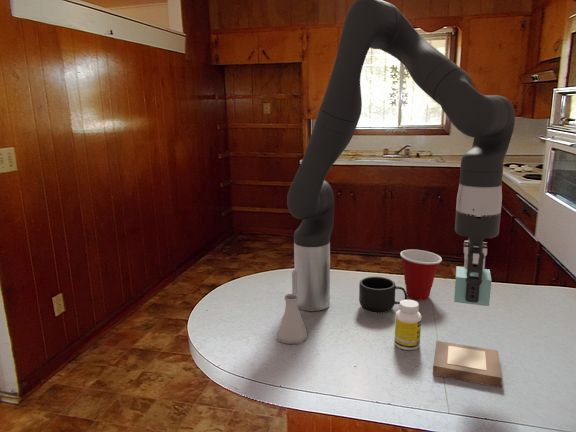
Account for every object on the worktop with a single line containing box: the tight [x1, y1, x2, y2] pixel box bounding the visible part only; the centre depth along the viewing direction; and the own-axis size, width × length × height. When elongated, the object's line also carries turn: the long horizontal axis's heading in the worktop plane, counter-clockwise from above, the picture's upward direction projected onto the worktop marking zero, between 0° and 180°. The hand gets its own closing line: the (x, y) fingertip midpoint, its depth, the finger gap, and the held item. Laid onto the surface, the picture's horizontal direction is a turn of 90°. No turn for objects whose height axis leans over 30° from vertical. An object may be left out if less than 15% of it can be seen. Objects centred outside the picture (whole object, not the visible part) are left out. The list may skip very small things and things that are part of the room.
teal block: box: [453, 265, 492, 307], centre depth 85 cm, size 6×6×5 cm
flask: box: [276, 293, 308, 345], centre depth 101 cm, size 7×7×10 cm
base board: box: [432, 340, 503, 388], centre depth 89 cm, size 12×10×2 cm
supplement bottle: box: [393, 299, 422, 351], centre depth 97 cm, size 5×5×10 cm
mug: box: [358, 276, 408, 314], centre depth 114 cm, size 12×9×7 cm
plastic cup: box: [400, 249, 443, 301], centre depth 121 cm, size 11×11×12 cm
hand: (471, 294), depth 85 cm, fingers closed on teal block, 6 cm apart
